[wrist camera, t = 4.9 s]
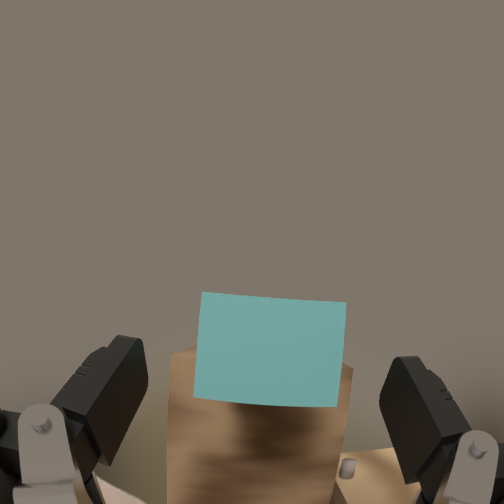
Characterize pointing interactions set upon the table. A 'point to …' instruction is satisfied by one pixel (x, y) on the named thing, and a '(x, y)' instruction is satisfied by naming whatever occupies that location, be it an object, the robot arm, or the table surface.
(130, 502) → the table surface
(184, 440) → the walnut post
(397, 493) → the oak block
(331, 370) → the teal board
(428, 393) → the robot arm
